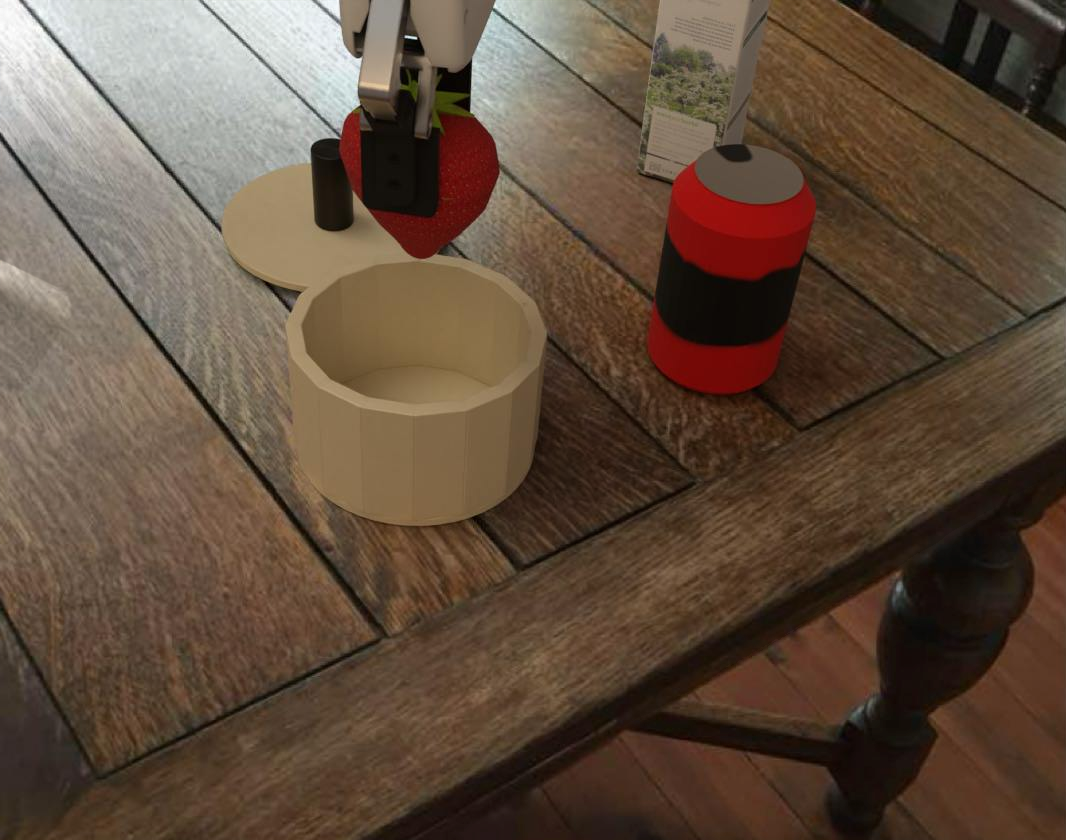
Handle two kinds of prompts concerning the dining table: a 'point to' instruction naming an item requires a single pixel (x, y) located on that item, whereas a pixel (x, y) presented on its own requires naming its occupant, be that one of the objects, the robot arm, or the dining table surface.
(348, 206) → the lid
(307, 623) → the dining table surface
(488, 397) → the pot
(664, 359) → the soda can
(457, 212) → the strawberry
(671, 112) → the syrup box
